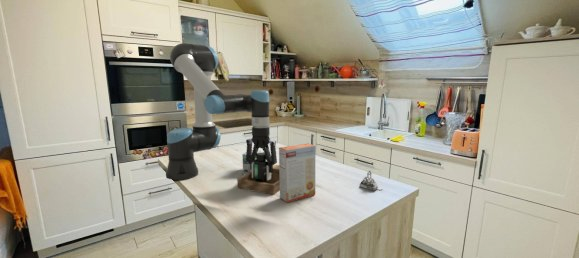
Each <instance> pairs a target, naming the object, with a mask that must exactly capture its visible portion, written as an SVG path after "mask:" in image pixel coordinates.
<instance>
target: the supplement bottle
mask: <svg viewBox="0 0 579 258" xmlns="http://www.w3.org/2000/svg"><path fill="white" fill-rule="evenodd" d="M256 158H257V159H256V160H255V161H254V180H255V181H256V182H262V183H263V182H267V181H269V180H267V165H268V162H267V159H266V156H265V153H264V152H261V153H257V154H256Z"/></svg>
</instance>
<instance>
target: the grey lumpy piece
mask: <svg viewBox="0 0 579 258" xmlns="http://www.w3.org/2000/svg"><path fill="white" fill-rule="evenodd" d="M372 174H373V173H372V172H371V170H368V171H367V173H366V176H364V178H363V179H362V180H361V182H360V183H359V188H363V189H367V190H370V191H376V190H377V189H378V191H379V190H382V188H381V187H379V185H378V184H377V182H376V181H375V179H374V177H373V178H372ZM378 187H379V188H378Z"/></svg>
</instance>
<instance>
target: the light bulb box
mask: <svg viewBox="0 0 579 258" xmlns="http://www.w3.org/2000/svg"><path fill="white" fill-rule="evenodd" d="M246 152H247V151H245V152H244V153H242V154H241V155H242V175H243V176H245V175H246V174H248V173H250V172H251V170H250V162H248V161H246ZM252 152H253V149H252ZM257 153H262V150H261V149H258V152H257ZM251 155H252V154H251ZM256 159H257V158H255V160H256Z"/></svg>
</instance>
